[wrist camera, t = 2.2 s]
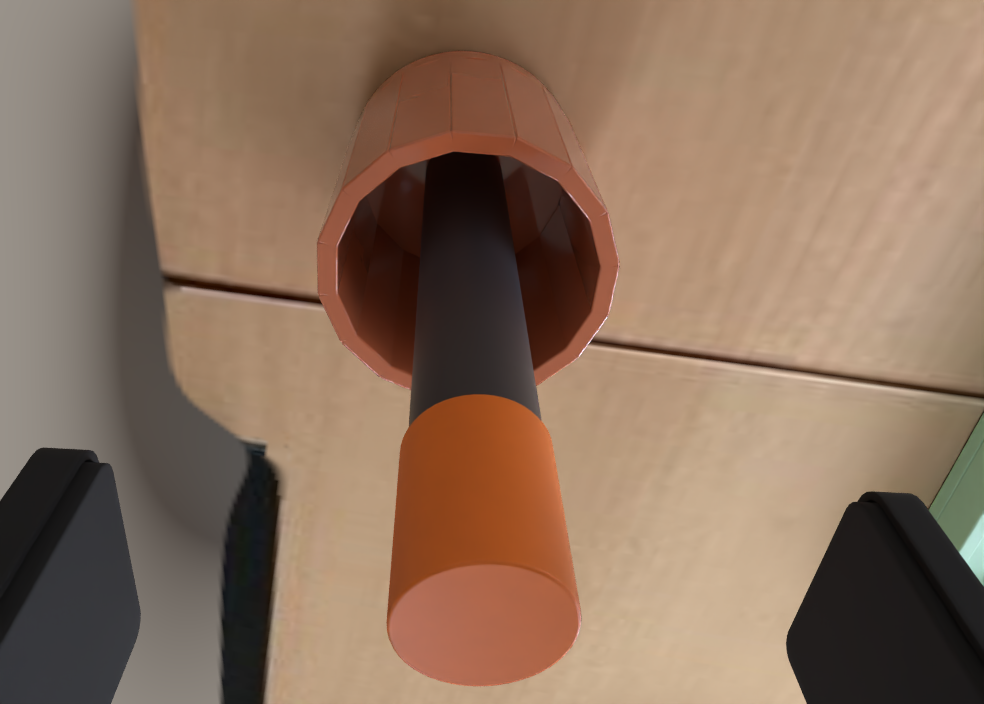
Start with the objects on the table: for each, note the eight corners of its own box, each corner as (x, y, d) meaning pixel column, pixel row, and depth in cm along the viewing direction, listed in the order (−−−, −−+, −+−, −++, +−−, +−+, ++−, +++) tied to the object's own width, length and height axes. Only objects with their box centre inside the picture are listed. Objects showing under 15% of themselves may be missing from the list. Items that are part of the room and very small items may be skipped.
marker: (424, 132, 20) (390, 558, 8) (510, 139, 20) (598, 566, 8) (419, 212, 21) (383, 686, 9) (500, 219, 21) (565, 690, 10)
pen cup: (352, 38, 19) (315, 117, 14) (592, 62, 20) (646, 148, 14) (350, 258, 23) (318, 391, 17) (556, 273, 23) (589, 407, 18)
